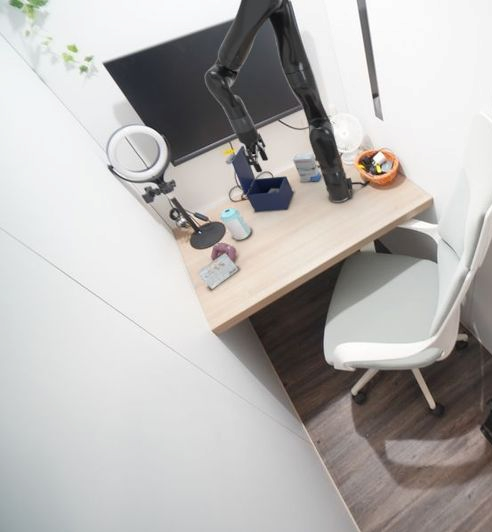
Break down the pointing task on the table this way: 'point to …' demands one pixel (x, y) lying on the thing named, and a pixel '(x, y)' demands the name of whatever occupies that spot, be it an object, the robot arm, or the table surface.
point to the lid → (242, 169)
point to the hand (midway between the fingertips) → (262, 165)
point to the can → (235, 223)
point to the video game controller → (223, 251)
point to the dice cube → (273, 190)
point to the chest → (270, 194)
